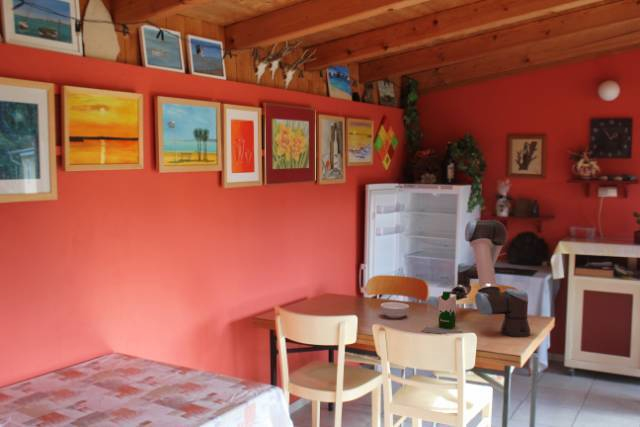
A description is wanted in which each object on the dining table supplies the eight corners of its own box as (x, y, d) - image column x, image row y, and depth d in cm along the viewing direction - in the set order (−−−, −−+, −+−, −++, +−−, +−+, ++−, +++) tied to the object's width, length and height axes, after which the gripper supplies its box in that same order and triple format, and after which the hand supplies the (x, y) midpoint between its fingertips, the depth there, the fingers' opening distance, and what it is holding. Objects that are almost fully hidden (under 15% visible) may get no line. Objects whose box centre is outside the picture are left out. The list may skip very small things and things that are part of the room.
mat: (462, 331, 341) (462, 331, 341) (457, 336, 332) (457, 335, 332) (426, 327, 350) (426, 326, 350) (420, 331, 341) (420, 331, 341)
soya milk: (436, 327, 349) (437, 292, 347) (442, 324, 357) (442, 289, 355) (452, 330, 344) (452, 293, 343) (457, 326, 352) (458, 290, 350)
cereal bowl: (405, 321, 363) (406, 309, 362) (377, 319, 368) (377, 307, 368) (411, 314, 379) (411, 303, 378) (384, 312, 384) (384, 301, 384)
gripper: (470, 299, 373) (459, 307, 352) (448, 297, 379) (436, 305, 358) (470, 286, 372) (459, 294, 351) (448, 285, 378) (437, 292, 357)
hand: (448, 299), depth 355 cm, fingers closed
